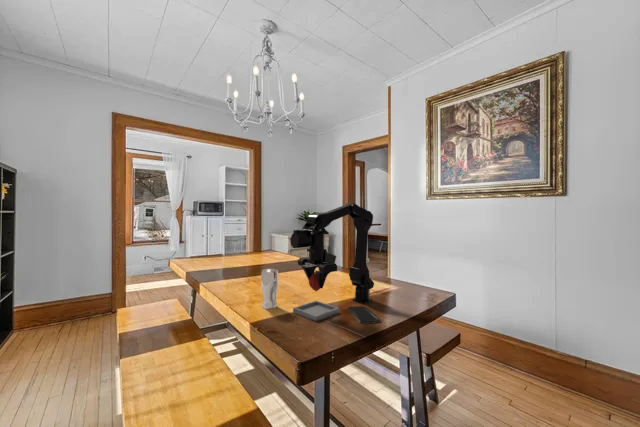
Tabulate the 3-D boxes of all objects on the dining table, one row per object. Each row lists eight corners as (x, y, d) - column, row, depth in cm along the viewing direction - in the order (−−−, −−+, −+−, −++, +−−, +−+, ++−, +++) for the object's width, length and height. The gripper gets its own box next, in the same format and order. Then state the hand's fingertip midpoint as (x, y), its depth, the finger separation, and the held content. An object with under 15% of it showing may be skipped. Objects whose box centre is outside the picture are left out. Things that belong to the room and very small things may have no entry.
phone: (364, 306, 114) (381, 319, 100) (364, 308, 114) (381, 323, 100) (346, 307, 112) (360, 321, 98) (346, 310, 112) (360, 325, 98)
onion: (323, 293, 105) (323, 272, 105) (308, 293, 105) (308, 272, 105) (323, 289, 111) (323, 269, 111) (309, 288, 111) (309, 268, 111)
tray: (316, 304, 117) (316, 300, 117) (338, 312, 108) (339, 308, 108) (293, 312, 108) (293, 307, 108) (315, 321, 99) (316, 316, 99)
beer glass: (274, 310, 110) (274, 272, 110) (258, 308, 112) (258, 271, 112) (280, 304, 117) (280, 268, 117) (265, 303, 119) (265, 268, 118)
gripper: (348, 247, 105) (348, 288, 106) (319, 242, 120) (319, 278, 121) (325, 249, 99) (324, 293, 99) (297, 244, 114) (297, 282, 114)
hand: (316, 286), depth 108 cm, fingers closed on onion, 6 cm apart
